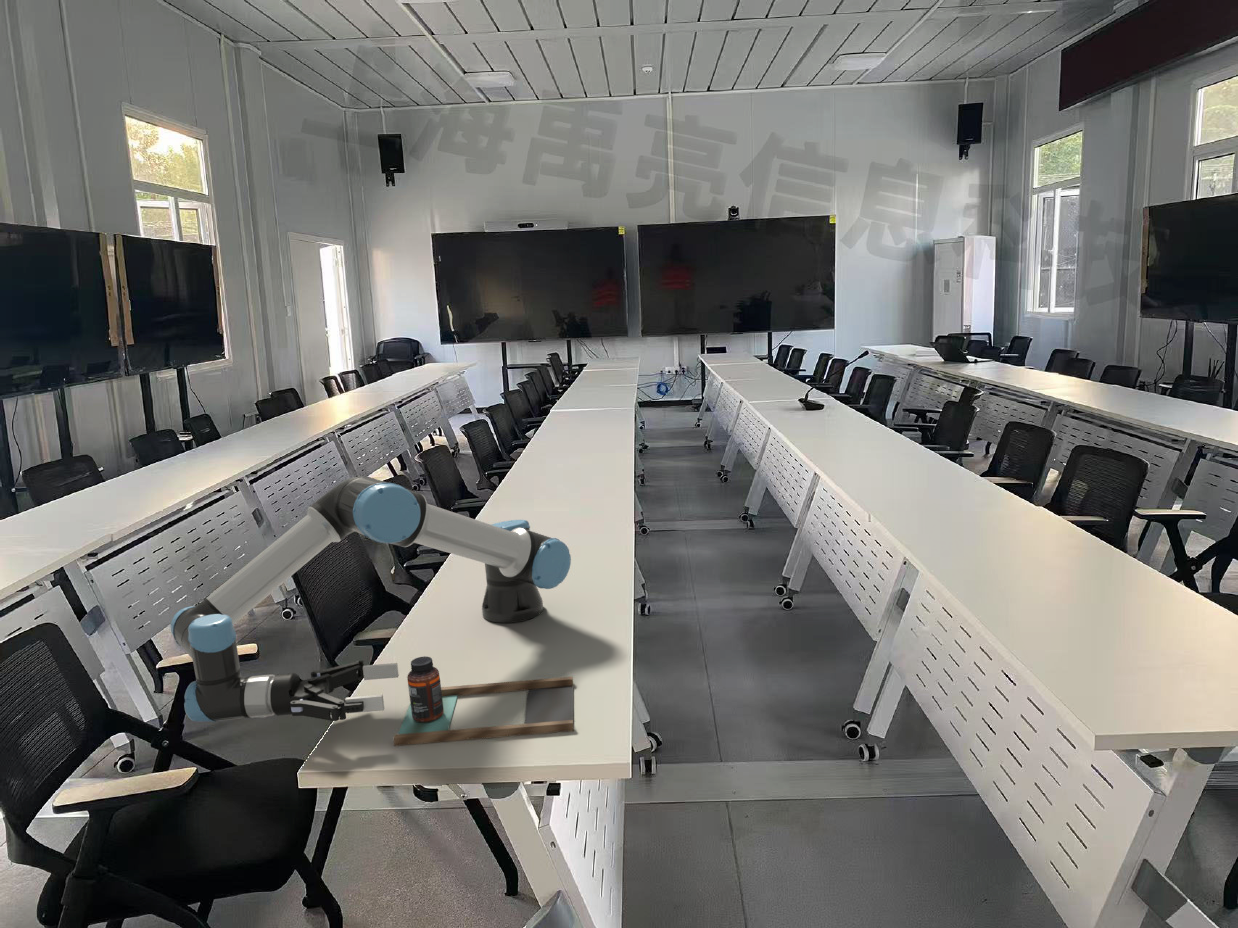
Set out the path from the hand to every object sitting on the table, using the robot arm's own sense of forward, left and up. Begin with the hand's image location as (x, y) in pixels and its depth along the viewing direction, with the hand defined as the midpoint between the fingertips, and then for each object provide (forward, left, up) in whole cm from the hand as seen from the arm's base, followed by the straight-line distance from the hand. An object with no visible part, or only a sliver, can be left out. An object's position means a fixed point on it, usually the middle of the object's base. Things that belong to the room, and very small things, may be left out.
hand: (390, 685), depth 161 cm
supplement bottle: (-3, +6, -7) cm, 9 cm away
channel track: (-6, +16, -7) cm, 19 cm away
